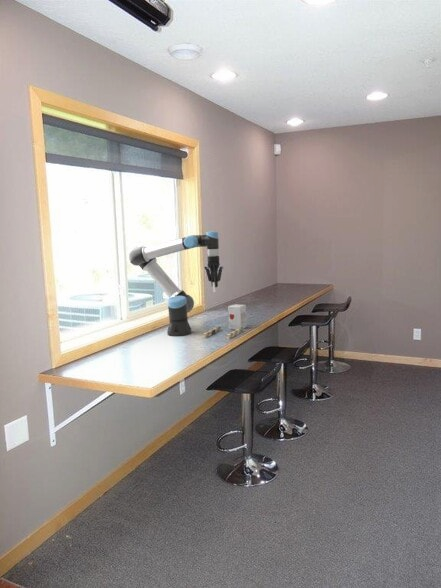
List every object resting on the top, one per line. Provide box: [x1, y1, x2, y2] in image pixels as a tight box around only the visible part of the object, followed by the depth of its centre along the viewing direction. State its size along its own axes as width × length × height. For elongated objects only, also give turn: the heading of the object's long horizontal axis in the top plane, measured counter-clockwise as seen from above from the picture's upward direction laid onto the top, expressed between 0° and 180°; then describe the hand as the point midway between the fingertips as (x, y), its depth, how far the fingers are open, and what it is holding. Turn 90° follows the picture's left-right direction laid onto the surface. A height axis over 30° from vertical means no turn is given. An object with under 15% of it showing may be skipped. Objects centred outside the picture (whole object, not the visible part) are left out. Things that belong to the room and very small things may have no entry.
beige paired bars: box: [202, 325, 244, 340], centre depth 286 cm, size 22×17×3 cm
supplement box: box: [227, 303, 248, 330], centre depth 301 cm, size 9×9×15 cm
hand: (214, 292), depth 301 cm, fingers closed
